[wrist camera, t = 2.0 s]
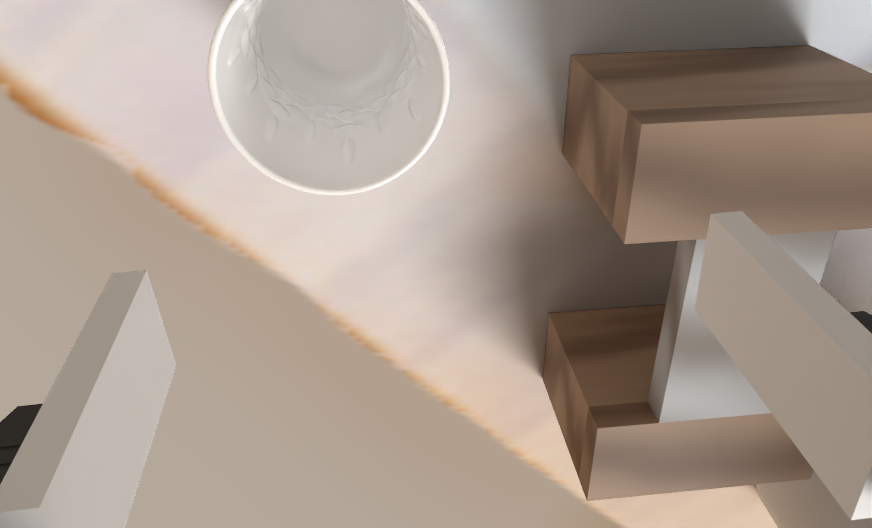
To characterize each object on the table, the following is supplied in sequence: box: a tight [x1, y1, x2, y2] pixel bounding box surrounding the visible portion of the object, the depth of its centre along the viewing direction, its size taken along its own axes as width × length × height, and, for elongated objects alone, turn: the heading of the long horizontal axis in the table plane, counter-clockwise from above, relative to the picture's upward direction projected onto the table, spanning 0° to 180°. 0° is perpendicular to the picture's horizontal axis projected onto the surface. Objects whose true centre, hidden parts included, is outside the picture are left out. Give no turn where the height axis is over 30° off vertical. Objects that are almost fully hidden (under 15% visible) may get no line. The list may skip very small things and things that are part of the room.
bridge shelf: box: [543, 45, 872, 501], centre depth 36 cm, size 20×12×10 cm, turn 1°
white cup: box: [208, 0, 450, 195], centre depth 28 cm, size 8×8×10 cm
